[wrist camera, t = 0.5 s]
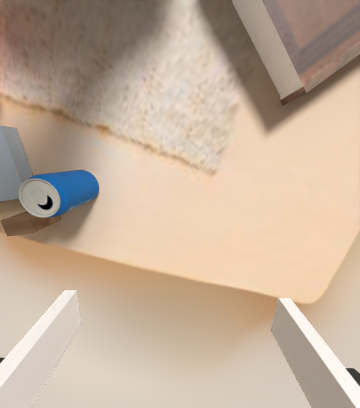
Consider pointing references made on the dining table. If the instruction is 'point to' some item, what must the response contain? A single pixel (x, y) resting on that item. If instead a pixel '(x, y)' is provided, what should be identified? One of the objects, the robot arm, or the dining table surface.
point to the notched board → (12, 164)
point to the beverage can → (57, 192)
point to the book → (302, 39)
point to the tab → (26, 223)
